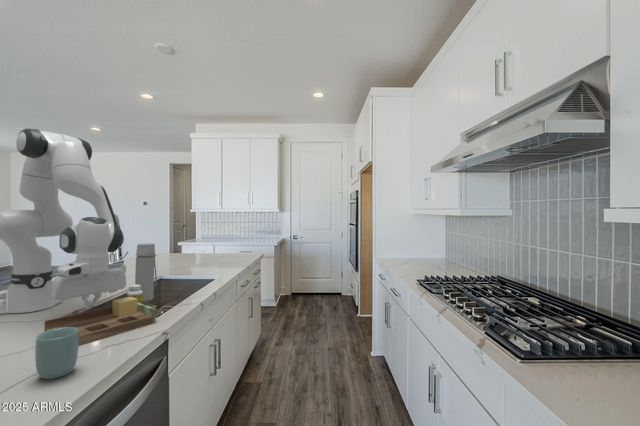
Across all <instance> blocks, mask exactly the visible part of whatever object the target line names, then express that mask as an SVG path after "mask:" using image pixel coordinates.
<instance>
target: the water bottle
mask: <svg viewBox="0 0 640 426" xmlns="http://www.w3.org/2000/svg"><path fill="white" fill-rule="evenodd" d="M155 248H156V246H155V243H151V242H150V243H149V242H147V243H146V242H145V243H138V244H137V247H136V254H135V256H136V257H135V280H134V281H135V282H134V285H141V289H140V290H142V292H143V297H142V303H146V302H150V301H152V300H153V299H154V289H155V288H156V287H157V284H158V280H157V265H156V256H157V254H156V249H155Z"/></svg>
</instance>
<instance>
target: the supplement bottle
mask: <svg viewBox="0 0 640 426" xmlns="http://www.w3.org/2000/svg"><path fill="white" fill-rule="evenodd" d="M140 289H141V285H135V284H131V285H129V287H128V291H127V292H126V297H134V298H137V299H138V303H140V304H143V302H142V297H143V292H142V290H140Z"/></svg>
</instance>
